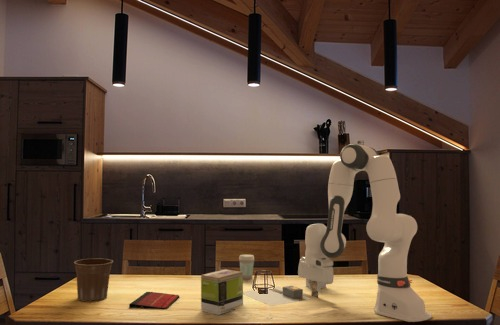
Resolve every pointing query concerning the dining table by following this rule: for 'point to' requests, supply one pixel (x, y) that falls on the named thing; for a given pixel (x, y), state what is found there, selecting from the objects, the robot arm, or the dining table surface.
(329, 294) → the dining table surface
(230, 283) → the tea box
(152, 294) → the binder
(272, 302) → the floor panel
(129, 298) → the dining table surface
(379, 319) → the dining table surface
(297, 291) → the grey rectangular block
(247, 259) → the coffee cup
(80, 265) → the plant pot
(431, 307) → the dining table surface
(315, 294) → the peg
